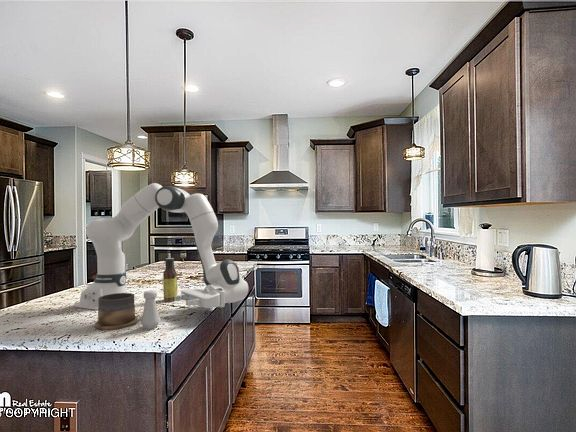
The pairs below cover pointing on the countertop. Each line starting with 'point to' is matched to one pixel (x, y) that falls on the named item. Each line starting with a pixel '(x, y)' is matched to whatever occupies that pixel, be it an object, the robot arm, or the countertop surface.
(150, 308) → the salt shaker
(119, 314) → the brown pot
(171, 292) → the sauce bottle
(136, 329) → the countertop surface
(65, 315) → the countertop surface
